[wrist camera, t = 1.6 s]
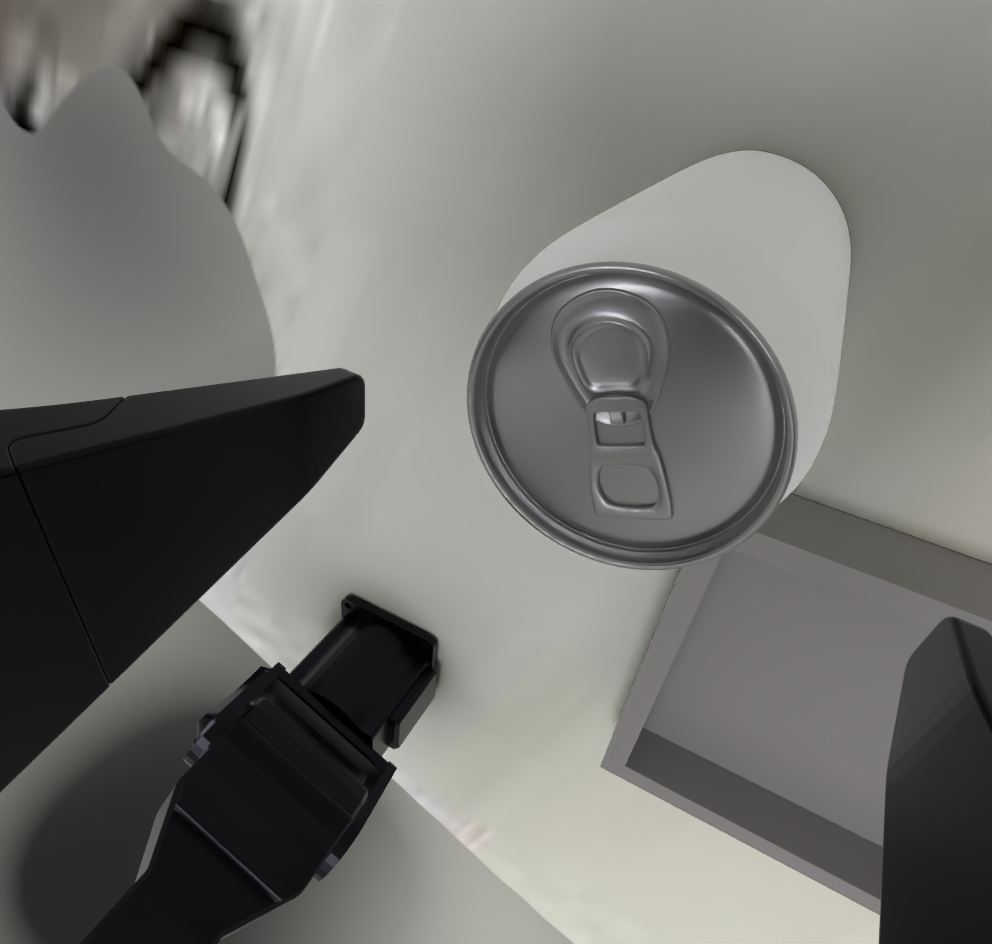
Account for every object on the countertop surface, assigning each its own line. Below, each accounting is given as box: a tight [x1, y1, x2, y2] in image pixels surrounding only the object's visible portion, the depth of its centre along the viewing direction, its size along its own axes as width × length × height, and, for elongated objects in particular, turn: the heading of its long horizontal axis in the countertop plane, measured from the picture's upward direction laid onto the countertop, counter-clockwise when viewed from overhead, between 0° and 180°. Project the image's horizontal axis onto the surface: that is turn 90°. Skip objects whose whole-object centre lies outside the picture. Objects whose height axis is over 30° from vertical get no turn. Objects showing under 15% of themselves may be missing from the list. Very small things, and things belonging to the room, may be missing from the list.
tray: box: [600, 493, 992, 915], centre depth 24 cm, size 16×16×3 cm
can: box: [467, 150, 851, 570], centre depth 15 cm, size 6×6×12 cm
